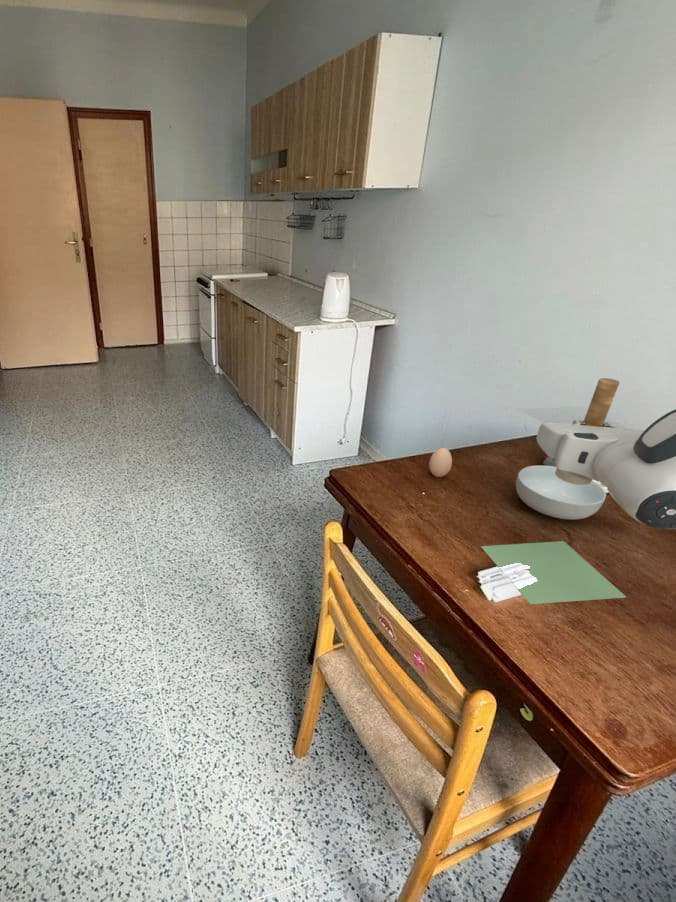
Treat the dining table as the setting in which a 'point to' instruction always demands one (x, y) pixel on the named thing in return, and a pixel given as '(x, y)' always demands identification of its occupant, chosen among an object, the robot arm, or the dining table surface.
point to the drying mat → (554, 572)
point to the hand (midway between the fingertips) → (589, 424)
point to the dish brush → (594, 421)
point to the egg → (440, 462)
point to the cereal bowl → (558, 494)
